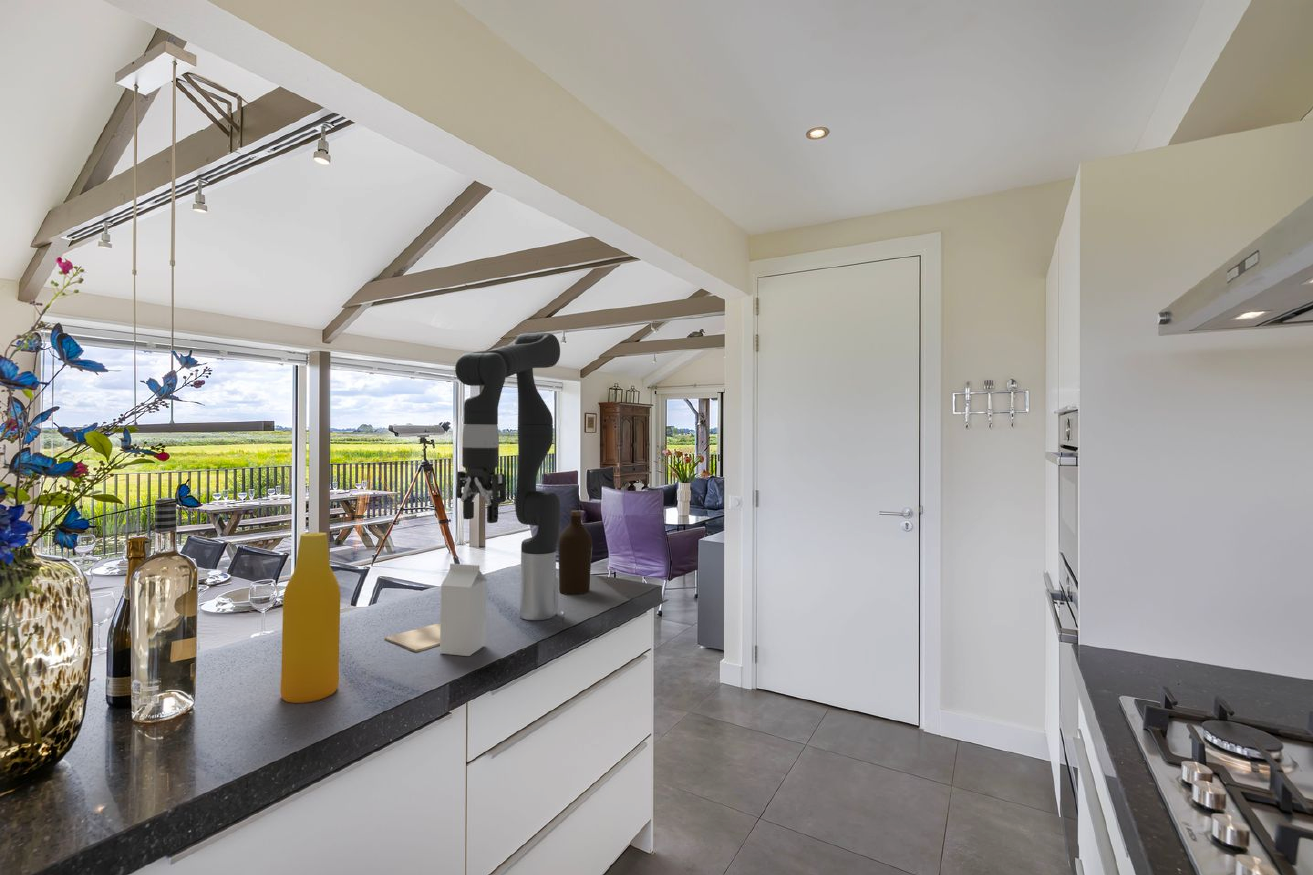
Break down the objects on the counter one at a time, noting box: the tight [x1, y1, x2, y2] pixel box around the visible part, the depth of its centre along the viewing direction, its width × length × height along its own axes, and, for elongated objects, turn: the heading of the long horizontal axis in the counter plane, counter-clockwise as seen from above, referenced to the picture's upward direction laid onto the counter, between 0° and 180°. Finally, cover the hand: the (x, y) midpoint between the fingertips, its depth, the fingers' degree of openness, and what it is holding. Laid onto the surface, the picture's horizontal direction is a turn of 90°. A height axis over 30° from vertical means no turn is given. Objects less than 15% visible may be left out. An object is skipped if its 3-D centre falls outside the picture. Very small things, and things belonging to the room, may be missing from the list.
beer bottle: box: [279, 532, 342, 704], centre depth 109 cm, size 9×9×29 cm
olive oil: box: [557, 510, 593, 596], centre depth 185 cm, size 11×11×25 cm
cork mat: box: [383, 622, 441, 653], centre depth 140 cm, size 15×13×1 cm
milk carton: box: [439, 563, 487, 657], centre depth 132 cm, size 7×7×19 cm
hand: (480, 520), depth 128 cm, fingers open, 8 cm apart
